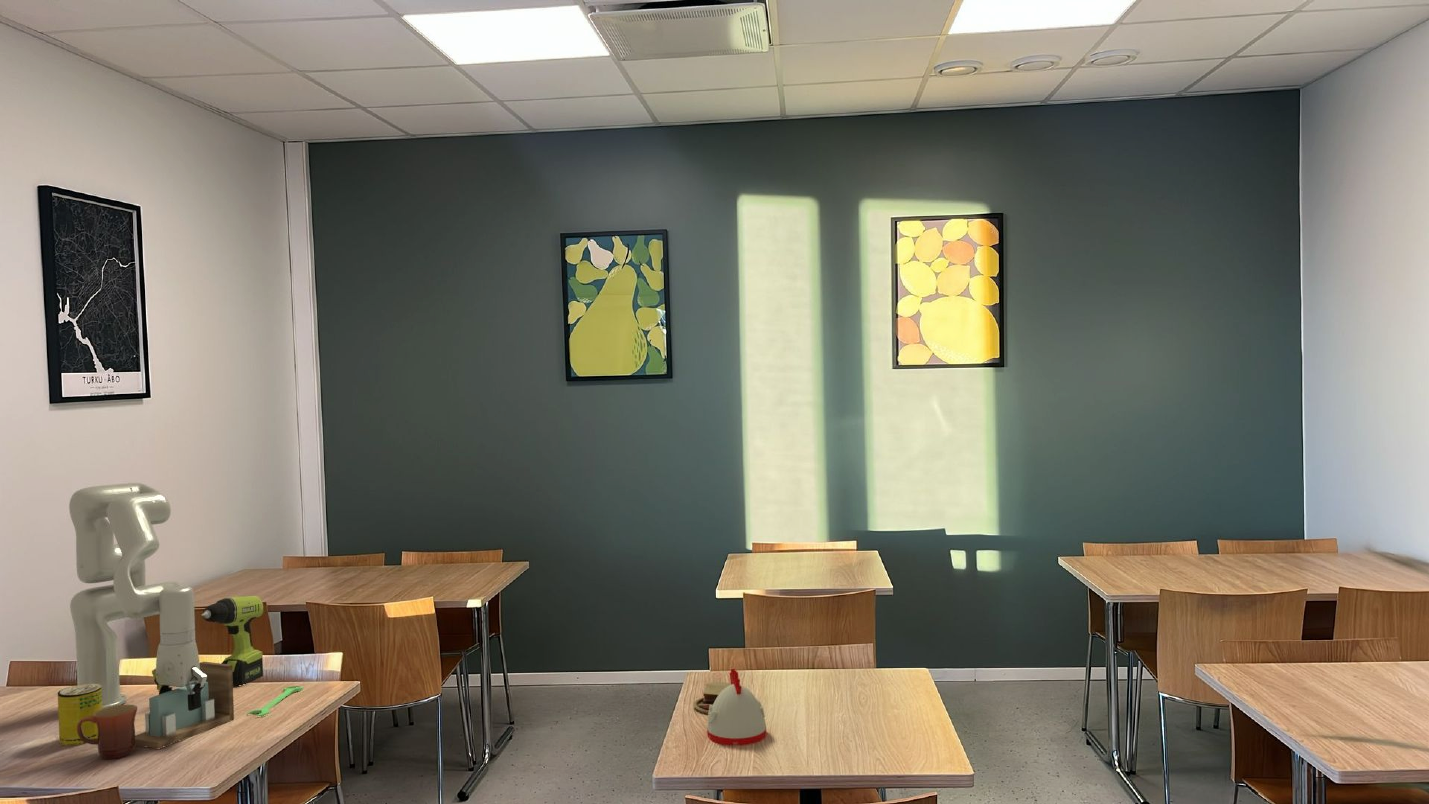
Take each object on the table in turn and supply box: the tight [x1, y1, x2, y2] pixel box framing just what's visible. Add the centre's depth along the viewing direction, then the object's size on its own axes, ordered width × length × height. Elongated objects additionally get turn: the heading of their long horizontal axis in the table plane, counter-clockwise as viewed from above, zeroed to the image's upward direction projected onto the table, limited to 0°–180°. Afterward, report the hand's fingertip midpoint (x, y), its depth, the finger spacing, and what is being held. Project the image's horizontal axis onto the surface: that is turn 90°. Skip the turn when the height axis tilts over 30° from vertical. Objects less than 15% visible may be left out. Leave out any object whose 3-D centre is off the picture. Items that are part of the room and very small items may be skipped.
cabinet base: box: [135, 661, 235, 749], centre depth 241 cm, size 21×10×14 cm, turn 158°
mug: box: [77, 704, 138, 760], centre depth 226 cm, size 12×9×10 cm
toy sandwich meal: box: [693, 681, 731, 715], centre depth 251 cm, size 12×14×5 cm
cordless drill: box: [200, 595, 264, 687], centre depth 278 cm, size 23×7×25 cm, turn 170°
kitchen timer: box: [706, 668, 767, 746], centre depth 231 cm, size 14×14×15 cm
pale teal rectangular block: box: [148, 682, 209, 737], centre depth 240 cm, size 14×3×9 cm, turn 158°
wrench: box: [246, 685, 304, 717], centre depth 262 cm, size 25×2×5 cm
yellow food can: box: [57, 684, 102, 746], centre depth 238 cm, size 9×9×12 cm
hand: (180, 706), depth 240 cm, fingers open, 9 cm apart
